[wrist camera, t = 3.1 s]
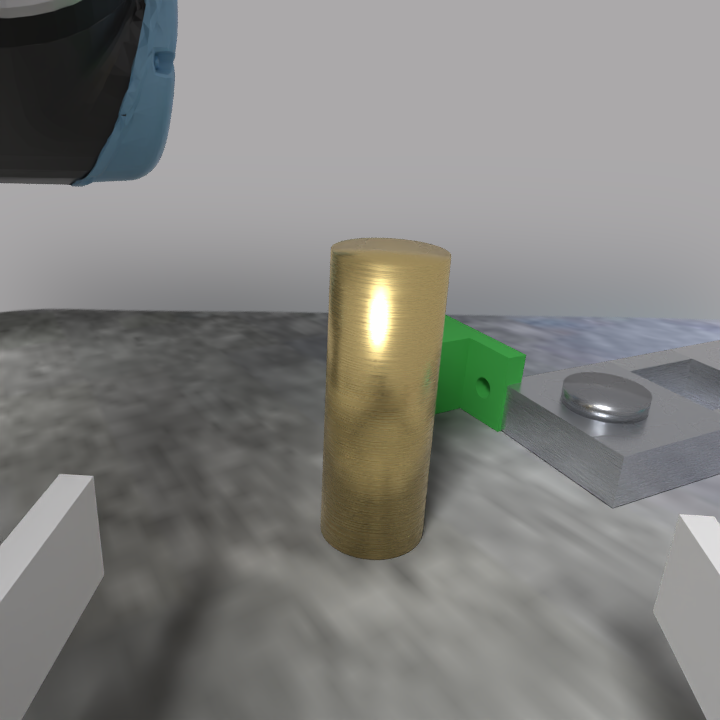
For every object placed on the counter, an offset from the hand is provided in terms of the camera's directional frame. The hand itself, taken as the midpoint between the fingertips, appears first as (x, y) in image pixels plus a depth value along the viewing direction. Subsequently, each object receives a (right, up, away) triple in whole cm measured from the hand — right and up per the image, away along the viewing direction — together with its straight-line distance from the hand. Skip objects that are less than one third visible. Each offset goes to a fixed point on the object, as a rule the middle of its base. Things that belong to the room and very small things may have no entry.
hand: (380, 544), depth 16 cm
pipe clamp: (+3, +2, +24) cm, 24 cm away
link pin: (0, -2, +11) cm, 12 cm away
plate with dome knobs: (+17, +1, +21) cm, 27 cm away
